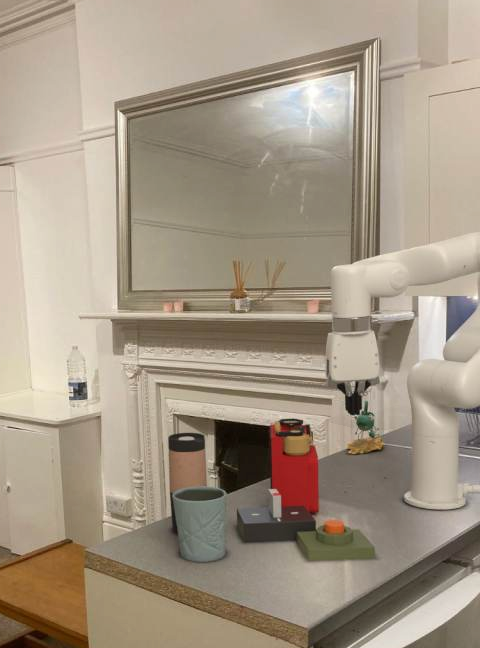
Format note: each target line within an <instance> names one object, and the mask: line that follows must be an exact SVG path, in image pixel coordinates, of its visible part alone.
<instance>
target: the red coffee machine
mask: <svg viewBox="0 0 480 648" xmlns="http://www.w3.org/2000/svg"><path fill="white" fill-rule="evenodd" d="M310 425H311V424H309V423H308V424H304V419H300V418H295V417H293V418H281V419H279V420H277V421H275V422H274V423H272V424H271V423H270V425H268V427H269V428H268V430H267V432H268V433H267V434H268V436H269V441H268V447H269V474H270V475H269V476H270V477H269V479H270V489H277V491H278V492H279V494H280V495H281V506H305V507H306V509H307V510H308V511H309V512H310V514H312V513H313V514H314V513H315V514H316V513H318V514H319V513H320V512H319V510H320V500H319V498H320V496H319V494H320V493H319V488H320V487H319V486H320V485H319V455H318V451H317V448H316V445H314V444H311V443H313V436H312V427H311V426H310Z"/></svg>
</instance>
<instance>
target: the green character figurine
mask: <svg viewBox="0 0 480 648" xmlns="http://www.w3.org/2000/svg"><path fill="white" fill-rule="evenodd" d="M368 409H369V401H368V400H365V401H364V406H363V410H361V411H360V415H356V414H355V415H353V418H354V420H355V421H356V422H355V424H356V427H357V429H356V431H355V432H354V434H355V435H357V439H354V440H352V441H350V442H348V443H347V447H346V448H347V449H350V450H348V452H347V453H348V454H351V455H356V454H357V455H358V454H362V455H363V454H367V453H369V452H372V451H378V450H381V449H382V448H383V446H384V445H385V442H384V440H383V439H381V437H380V434H379V433H377V431H379V430H380V429H379V428H376V426H375V419H374V417H375V414H374V412H371V411H368ZM373 429H374V430H373ZM358 431H360V432H359V433H358ZM364 432H367V433H368V436H367V437H366V438H365V437H363V436H364ZM376 433H377V434H376ZM360 434H361V437H360Z"/></svg>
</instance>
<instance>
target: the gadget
mask: <svg viewBox="0 0 480 648" xmlns="http://www.w3.org/2000/svg"><path fill="white" fill-rule="evenodd" d="M236 525H237V526H236V527H237V529H238V531H239V534H240V536H241V538H242V541H243V542H244V543H245V544H247V543H250V544H251V543H271V542H272V543H274V542H294V541H295V542H297V532H307V531H316V529H317V521H316V519H315V518H314V516H313V515H312V513H310V512H309V511H308V510H307V509H306V507H305V506H281V518H273V516H272V515H271V513H270V511H269V506H261V507H239V508H236Z"/></svg>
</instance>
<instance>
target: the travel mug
mask: <svg viewBox="0 0 480 648" xmlns="http://www.w3.org/2000/svg"><path fill="white" fill-rule="evenodd" d="M167 439H168V440H167V442H168V443H167V444H168V447H167V448H168V475H169V476H168V477H169V479H168V480H169V498H170V511H171V512H170V513H171V527H172V532H173V533H174V534H176V535H178V531H177V529H178V528H177V525H176V524H177V523H176V516H175V510H174V503H173V497H172V495H173V493H174V492H175V491H177V490H180V489H183V488H189V487H197V486H206V487H208V485H207V484H208V482H207V459H206V456H207V455H206V440H205V439H206V438H205V435H204V434H202V433H197V432H178V433H173V434H170V435H168V437H167Z"/></svg>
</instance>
